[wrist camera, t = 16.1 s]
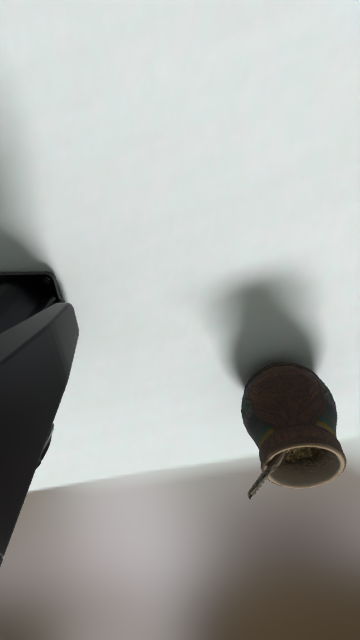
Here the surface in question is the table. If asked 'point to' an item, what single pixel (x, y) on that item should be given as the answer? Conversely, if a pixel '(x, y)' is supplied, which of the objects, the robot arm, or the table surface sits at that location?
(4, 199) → the table surface
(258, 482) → the mate gourd
